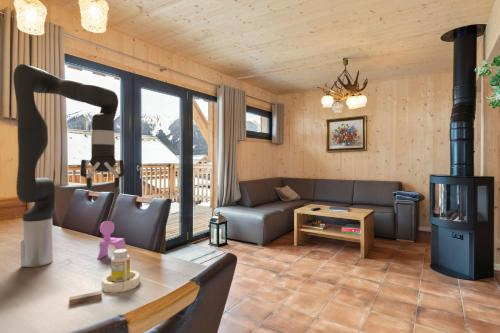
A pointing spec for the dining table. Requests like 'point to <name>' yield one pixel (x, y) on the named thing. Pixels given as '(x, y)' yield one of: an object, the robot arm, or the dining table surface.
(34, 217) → the robot arm
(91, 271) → the dining table surface
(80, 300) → the walnut stick
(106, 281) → the jar dish
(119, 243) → the toy chair
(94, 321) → the dining table surface
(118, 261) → the supplement bottle
